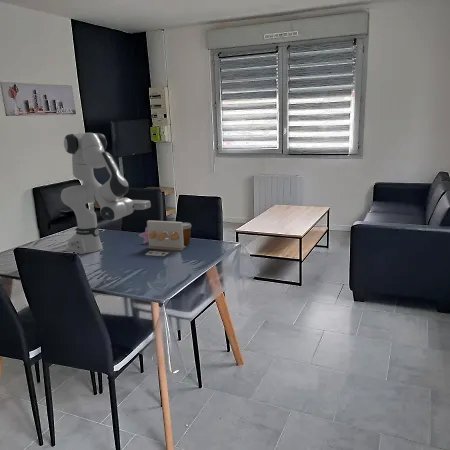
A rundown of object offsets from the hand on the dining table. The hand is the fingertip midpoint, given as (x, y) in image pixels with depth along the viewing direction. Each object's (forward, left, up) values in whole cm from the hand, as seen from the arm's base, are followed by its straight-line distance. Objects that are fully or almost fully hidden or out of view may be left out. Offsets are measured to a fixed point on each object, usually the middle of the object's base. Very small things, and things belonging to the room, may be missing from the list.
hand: (138, 201), depth 226 cm
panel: (+4, +20, -32) cm, 38 cm away
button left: (-3, +19, -26) cm, 32 cm away
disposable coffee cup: (+11, +31, -32) cm, 46 cm away
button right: (+11, +19, -26) cm, 34 cm away
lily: (-11, +28, -32) cm, 44 cm away
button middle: (+4, +16, -26) cm, 31 cm away
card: (+4, +8, -32) cm, 33 cm away
